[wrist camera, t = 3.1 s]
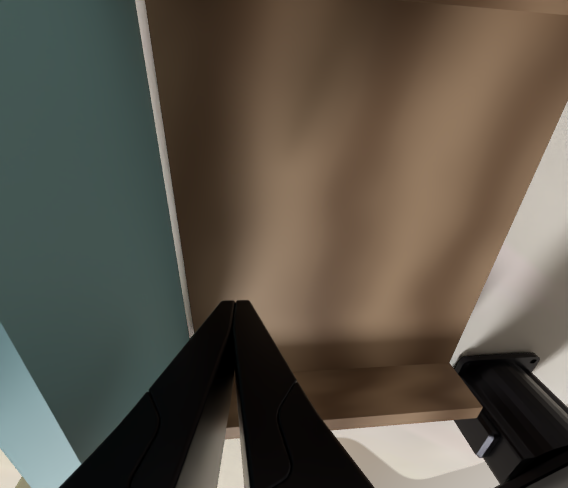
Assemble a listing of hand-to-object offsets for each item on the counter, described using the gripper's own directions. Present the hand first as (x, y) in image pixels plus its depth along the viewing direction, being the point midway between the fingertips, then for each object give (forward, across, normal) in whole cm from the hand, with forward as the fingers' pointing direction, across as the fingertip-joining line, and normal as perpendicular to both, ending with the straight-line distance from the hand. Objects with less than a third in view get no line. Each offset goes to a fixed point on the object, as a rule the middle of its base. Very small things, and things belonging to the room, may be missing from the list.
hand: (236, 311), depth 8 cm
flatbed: (+7, -5, 0) cm, 9 cm away
